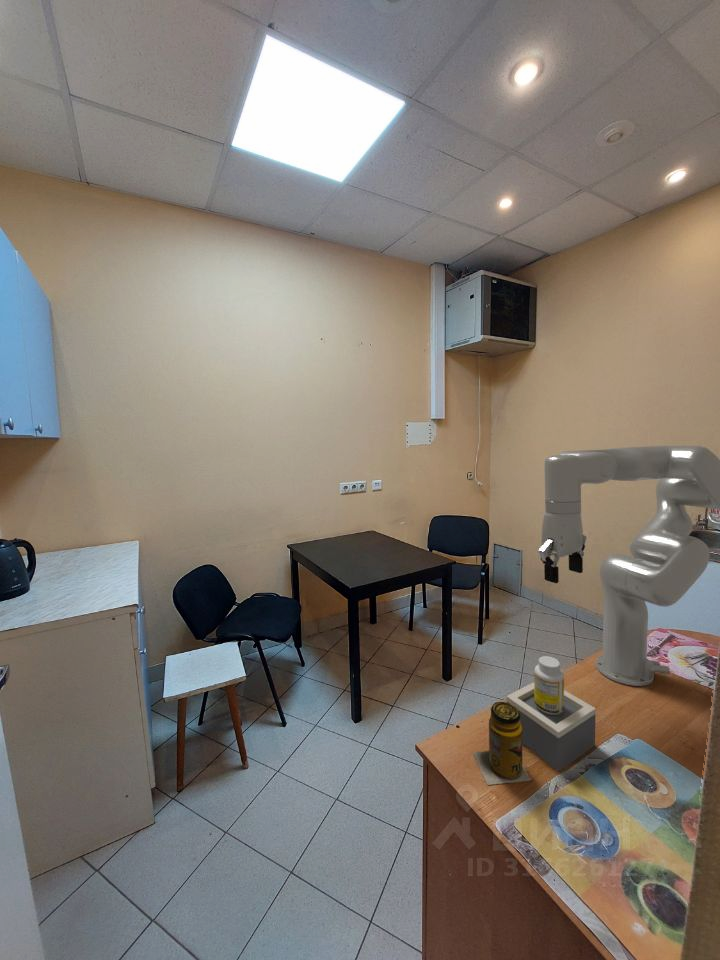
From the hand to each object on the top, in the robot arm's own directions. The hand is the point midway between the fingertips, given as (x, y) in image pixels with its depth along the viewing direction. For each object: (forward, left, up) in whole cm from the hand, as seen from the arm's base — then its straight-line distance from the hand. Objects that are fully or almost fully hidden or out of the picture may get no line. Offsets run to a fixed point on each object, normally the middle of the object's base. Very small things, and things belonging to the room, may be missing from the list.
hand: (563, 576), depth 92 cm
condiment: (+14, +28, -30) cm, 43 cm away
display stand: (+5, +18, -30) cm, 35 cm away
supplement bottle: (+5, +18, -23) cm, 29 cm away
